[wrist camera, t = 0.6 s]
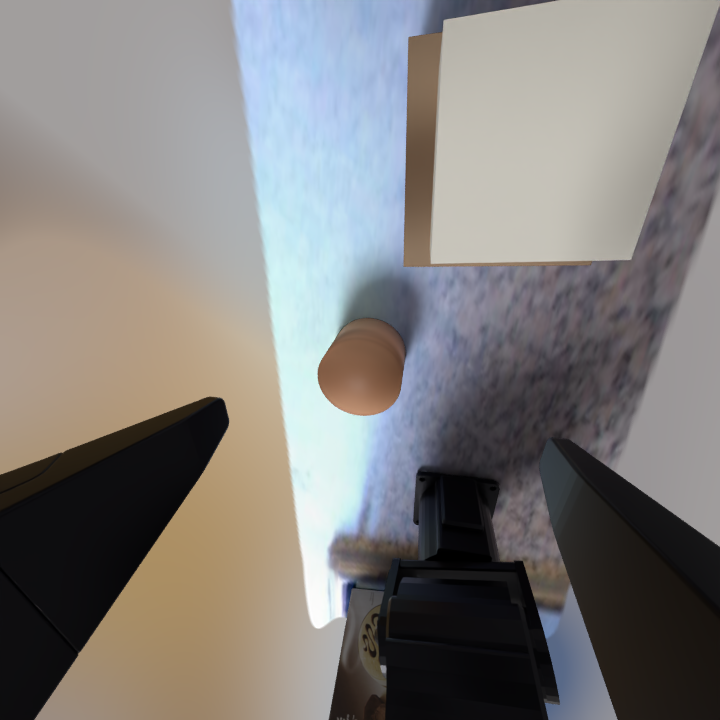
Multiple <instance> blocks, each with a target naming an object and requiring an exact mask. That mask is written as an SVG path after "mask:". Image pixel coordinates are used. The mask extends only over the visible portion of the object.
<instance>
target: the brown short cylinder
mask: <svg viewBox="0 0 720 720" xmlns="http://www.w3.org/2000/svg"><path fill="white" fill-rule="evenodd" d="M405 354H406V352H405V345H404V342H403V340H402V338H401V336H400V334H399V333H398V332H397V331H396V330H395V329H394V328H393V327H392V326H391V325H389V324H388V323H386V322H384V321H381V320H378V319H374V318H362V319H357V320H354V321H352V322H350V323H348V324H347V325H346V326H344V327H343V328H342V330H341V331H340V332H339V334H338V335H337V337H336V338H335V340H334V342H333V343H332V345H331V346H330V348H329V349H328V351H327V352H326V354H325V355H324V357H323V358H322V360H321V362H320V364H319V368H318V382H319V385H320V388H321V390H322V392H323V394H324V395H325V397H326V398H327V399H328V400H329V401H330V402H331V403H332V404H333V405H334V406H336V407H337V408H339V409H341V410H343V411H345V412H347V413H350V414H354V415H361V416H367V415H375V414H378V413H381V412H383V411H385V410H387V409H388V408H389V407H391V406H392V405H393V404H394V403H395V401H396V400H397V398H398V396H399V394H400V390H401V384H402V377H403V370H404V362H405Z"/></svg>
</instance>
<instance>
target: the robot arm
mask: <svg viewBox="0 0 720 720" xmlns="http://www.w3.org/2000/svg"><path fill="white" fill-rule="evenodd" d="M228 426H229V418H228V414H227V409H226V405H225V402H224V400H223V399H222V398H217V397H206V398H204V399H201V400H199V401H196V402H193V403H191V404H188V405H185V406H183V407H180V408H177V409H175V410H172V411H169V412H167V413H164V414H162V415H159V416H156V417H154V418H151V419H148V420H146V421H143V422H140V423H138V424H135V425H133V426H130V427H127V428H125V429H122V430H119V431H117V432H114V433H112V434H109V435H106V436H103V437H101V438H98V439H96V440H93V441H90V442H88V443H85V444H83V445H80V446H77V447H75V448H72V449H69V450H67V451H65V452H64V453H58V454H56V455H53V456H50V457H48V458H45V459H43V460H40V461H37V462H34V463H32V464H29V465H26V466H23V467H21V468H18V469H15V470H13V471H10V472H7V473H4V474H1V475H0V720H34V719H35V718H36V717H37V715H38V713H39V712H40V711H41V709H42V708H43V706H44V705H45V703H46V702H47V700H48V699H49V698H50V696H51V695H52V693H53V692H54V690H55V689H56V687H57V686H58V684H59V683H60V681H61V680H62V678H63V677H64V676H65V674H66V673H67V671H68V669H69V668H70V667H71V665H72V664H73V662H74V661H75V659H76V658H77V656H78V653H79V652H80V651H81V650H82V649H83V647H84V646H85V644H86V643H87V641H88V640H89V639H90V637H91V636H92V634H93V633H94V631H95V630H96V628H97V627H98V625H99V624H100V622H101V621H102V620H103V618H104V617H105V615H106V614H107V612H108V611H109V609H110V608H111V606H112V605H113V603H114V602H115V600H116V599H117V597H118V596H119V594H120V593H121V592H122V590H123V589H124V587H125V586H126V584H127V583H128V582H129V580H130V578H131V577H132V576H133V574H134V573H135V571H136V570H137V568H138V567H139V565H140V564H141V563H142V561H143V559H144V558H145V557H146V555H147V554H148V552H149V551H150V549H151V548H152V546H153V545H154V544H155V542H156V541H157V539H158V537H159V536H160V535H161V533H162V532H163V530H164V529H165V527H166V526H167V524H168V523H169V522H170V520H171V519H172V517H173V516H174V514H175V513H176V511H177V510H178V508H179V507H180V505H181V504H182V503H183V501H184V500H185V498H186V497H187V495H188V494H189V492H190V491H191V489H192V488H193V486H194V485H195V484H196V482H197V481H198V479H199V478H200V476H201V475H202V473H203V471H204V470H205V468H206V466H207V465H208V463H209V461H210V459H211V457H212V456H213V454H214V452H215V450H216V448H217V447H218V445H219V443H220V441H221V439H222V438H223V436H224V434H225V432H226V430H227V428H228ZM539 469H540V475H541V479H542V484H543V488H544V493H545V497H546V502H547V506H548V511H549V515H550V520H551V524H552V528H553V531H554V535H555V538H556V541H557V544H558V547H559V550H560V553H561V556H562V559H563V562H564V564H565V567H566V570H567V573H568V576H569V579H570V582H571V585H572V588H573V591H574V594H575V597H576V599H577V602H578V605H579V608H580V611H581V614H582V617H583V620H584V623H585V626H586V629H587V632H588V634H589V637H590V640H591V643H592V646H593V649H594V652H595V655H596V658H597V661H598V663H599V667H600V669H601V672H602V675H603V678H604V681H605V684H606V687H607V690H608V692H609V696H610V699H611V702H612V704H613V707H614V710H615V713H616V716H617V719H618V720H720V547H719V546H718V545H717V544H715V543H714V542H712V541H711V540H709V539H708V538H707V537H705V536H704V535H702V534H701V533H700V532H698V531H697V530H695V529H694V528H693V527H691V526H690V525H688V524H687V523H686V522H684V521H683V520H681V519H680V518H679V517H677V516H676V515H674V514H673V513H672V512H670V511H669V510H667V509H666V508H665V507H663V506H662V505H660V504H659V503H658V502H656V501H655V500H653V499H652V498H650V497H649V496H648V495H646V494H645V493H644V492H642V491H641V490H639V489H638V488H637V487H635V486H634V485H632V484H631V483H630V482H628V481H627V480H625V479H624V478H623V477H621V476H620V475H618V474H617V473H616V472H614V471H613V470H611V469H610V468H609V467H607V466H606V465H604V464H603V463H601V462H600V461H599V460H597V459H596V458H594V457H593V456H592V455H590V454H589V453H587V452H586V451H585V450H583V449H582V448H580V447H579V446H578V445H576V444H575V443H573V442H572V441H571V440H569V439H564V438H555V437H551V438H549V439H548V440H547V443H546V445H545V448H544V451H543V454H542V457H541V460H540V464H539ZM492 486H494V487H492ZM499 490H500V488H499V484H498V482H497V481H494V480H488V479H479V478H471V477H463V476H455V475H446V474H438V473H430V472H418V473H417V475H416V487H415V502H414V518H413V522H414V523H415V524H416V525H419V536H418V560H401V558H393V561H392V565H391V569H390V570H389V573H388V578H387V582H386V586H385V590H384V595H383V599H382V603H381V607H380V612H379V616H378V620H377V626H376V629H375V634H374V638H375V642H376V643H377V645H378V649H379V660H380V667H381V671H382V674H383V677H384V678H385V679H386V710H385V720H548V716H547V711H546V707H545V703H551V704H558V705H559V704H560V701H559V695H558V690H557V684H556V680H555V675H554V671H553V666H552V662H551V658H550V654H549V650H548V646H547V642H546V638H545V634H544V631H543V627H542V624H541V620H540V617H539V613H538V610H537V607H536V603H535V600H534V597H533V593H532V590H531V587H530V583H529V580H528V577H527V573H526V570H525V567H524V563H523V561H514V562H500V559H499V554H498V549H497V544H496V539H495V534H494V529H493V524H492V517H493V513H494V509H495V506H496V502H497V498H498V494H499Z"/></svg>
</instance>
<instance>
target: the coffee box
mask: <svg viewBox="0 0 720 720" xmlns="http://www.w3.org/2000/svg"><path fill="white" fill-rule="evenodd" d="M383 595H384V591H375V590H366V589H356V588H353V589H352V592H351V598H350V603H349V609H348V614H347V621H346V626H345V631H344V637H343V643H342V648H341V655H340V660H339V666H338V672H337V677H336V682H335V688H334V694H333V699H332V705H331V711H330V716H329V720H385V710H386V679H385V678H384V677H383V674H382V671H381V667H380V660H379V649H378V645H377V643H376V642H375V638H374V634H375V629H376V626H377V620H378V616H379V612H380V607H381V603H382V599H383Z"/></svg>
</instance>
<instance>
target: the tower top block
mask: <svg viewBox="0 0 720 720" xmlns="http://www.w3.org/2000/svg"><path fill="white" fill-rule="evenodd" d="M719 6H720V0H558V1H552V2H546V3H540V4H535V5H529V6H523V7H517V8H511V9H505V10H499V11H493V12H488V13H482V14H476V15H470V16H464V17H458V18H452V19H446V20H444V22H443V32H442V43H441V53H440V64H439V74H438V93H437V113H436V133H435V153H434V173H433V192H432V212H431V232H430V260H431V264H446V263H499V262H552V261H605V260H631V258H632V255H633V252H634V250H635V247H636V244H637V241H638V238H639V235H640V232H641V229H642V227H643V224H644V221H645V218H646V215H647V212H648V209H649V207H650V204H651V201H652V198H653V195H654V192H655V189H656V186H657V184H658V181H659V178H660V175H661V172H662V169H663V166H664V163H665V161H666V158H667V155H668V152H669V149H670V146H671V143H672V140H673V138H674V135H675V132H676V129H677V126H678V123H679V120H680V117H681V115H682V112H683V109H684V106H685V103H686V100H687V97H688V95H689V92H690V89H691V86H692V83H693V80H694V77H695V74H696V72H697V69H698V66H699V63H700V60H701V57H702V54H703V51H704V49H705V46H706V43H707V40H708V37H709V34H710V31H711V28H712V26H713V23H714V20H715V17H716V14H717V11H718V8H719Z"/></svg>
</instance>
